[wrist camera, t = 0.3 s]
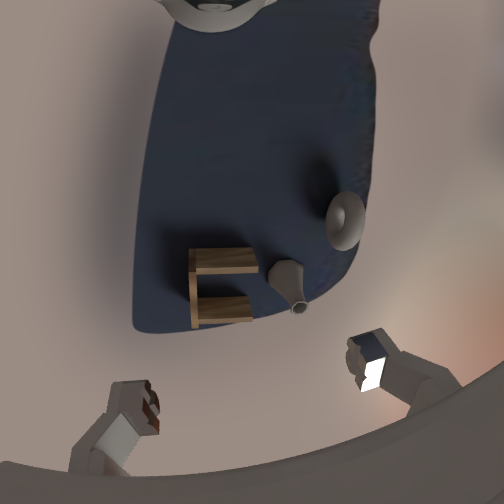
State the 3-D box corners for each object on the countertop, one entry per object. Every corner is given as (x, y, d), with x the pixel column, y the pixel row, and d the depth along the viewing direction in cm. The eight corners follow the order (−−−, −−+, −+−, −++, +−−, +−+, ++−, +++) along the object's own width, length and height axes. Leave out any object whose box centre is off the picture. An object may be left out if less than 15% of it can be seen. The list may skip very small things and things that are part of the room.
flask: (261, 285, 60) (272, 321, 51) (275, 254, 56) (289, 288, 48) (294, 291, 62) (309, 325, 54) (308, 262, 59) (327, 294, 50)
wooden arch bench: (188, 248, 53) (188, 272, 47) (252, 247, 55) (259, 270, 49) (191, 302, 59) (191, 328, 53) (247, 300, 61) (253, 325, 55)
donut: (332, 180, 50) (359, 203, 42) (349, 184, 51) (377, 207, 43) (315, 231, 55) (337, 261, 47) (332, 233, 56) (355, 263, 48)
